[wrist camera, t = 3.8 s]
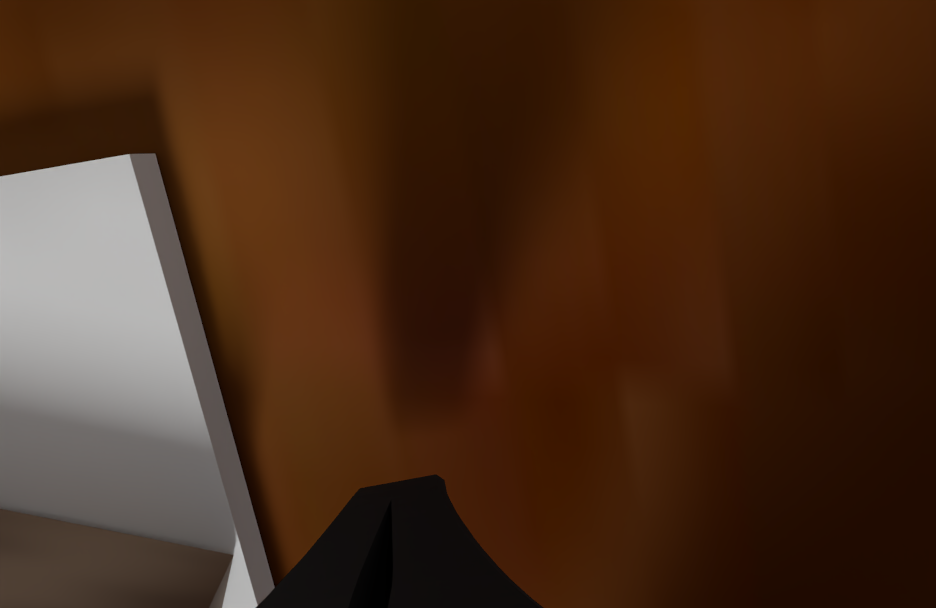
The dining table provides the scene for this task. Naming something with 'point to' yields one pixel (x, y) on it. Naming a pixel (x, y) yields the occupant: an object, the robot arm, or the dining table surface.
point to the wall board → (114, 370)
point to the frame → (102, 568)
